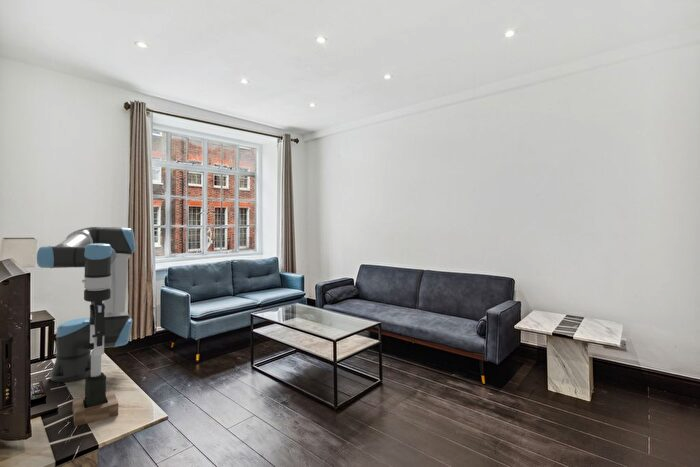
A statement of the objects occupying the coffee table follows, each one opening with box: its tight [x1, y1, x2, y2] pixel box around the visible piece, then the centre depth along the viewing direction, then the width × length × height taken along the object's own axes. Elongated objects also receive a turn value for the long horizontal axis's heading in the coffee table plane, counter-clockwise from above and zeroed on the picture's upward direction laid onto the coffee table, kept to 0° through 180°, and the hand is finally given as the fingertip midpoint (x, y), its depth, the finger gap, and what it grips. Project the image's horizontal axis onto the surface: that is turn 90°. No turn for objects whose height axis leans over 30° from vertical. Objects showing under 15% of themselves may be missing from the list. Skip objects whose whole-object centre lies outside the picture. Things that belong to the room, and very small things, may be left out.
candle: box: [84, 349, 107, 408], centre depth 122 cm, size 5×5×25 cm
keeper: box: [71, 389, 119, 427], centre depth 123 cm, size 12×12×4 cm
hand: (96, 348), depth 122 cm, fingers open, 13 cm apart
